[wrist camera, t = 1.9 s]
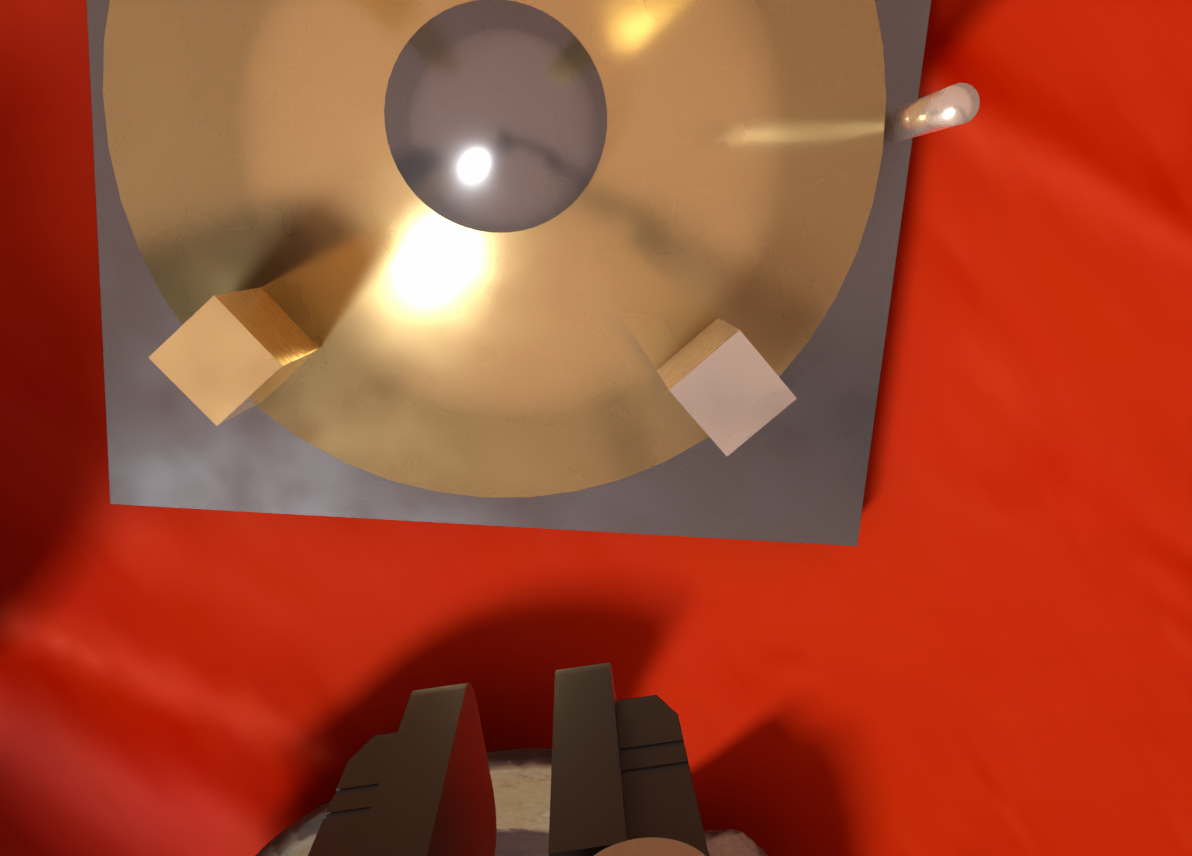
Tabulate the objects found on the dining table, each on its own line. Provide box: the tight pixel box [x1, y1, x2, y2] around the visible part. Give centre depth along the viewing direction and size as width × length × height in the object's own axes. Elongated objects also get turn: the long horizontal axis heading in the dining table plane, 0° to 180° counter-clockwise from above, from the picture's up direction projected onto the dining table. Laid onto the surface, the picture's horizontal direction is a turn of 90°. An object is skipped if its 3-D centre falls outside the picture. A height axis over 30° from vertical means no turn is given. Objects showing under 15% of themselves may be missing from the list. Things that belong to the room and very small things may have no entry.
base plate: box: [87, 0, 980, 546], centre depth 26 cm, size 26×26×8 cm
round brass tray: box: [103, 0, 886, 497], centre depth 25 cm, size 22×22×6 cm
